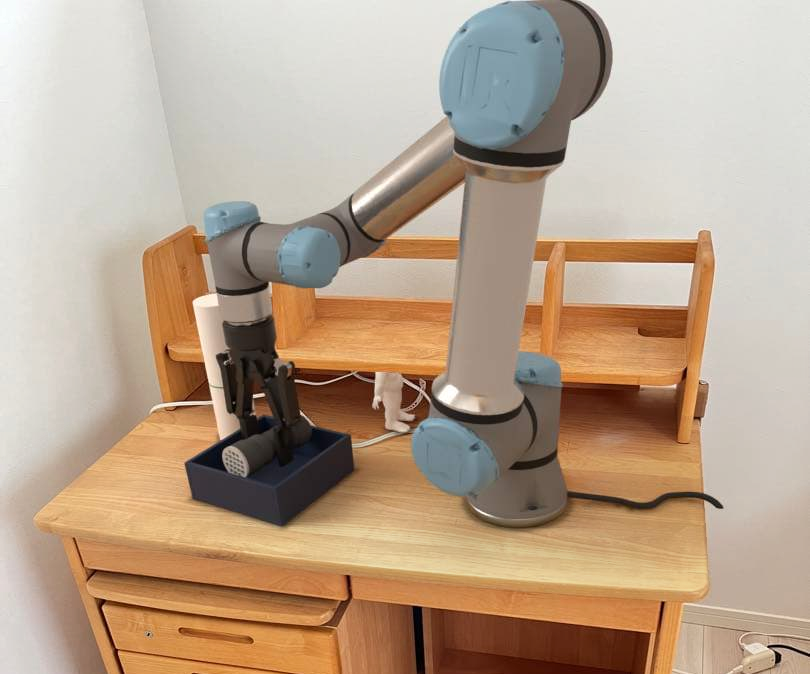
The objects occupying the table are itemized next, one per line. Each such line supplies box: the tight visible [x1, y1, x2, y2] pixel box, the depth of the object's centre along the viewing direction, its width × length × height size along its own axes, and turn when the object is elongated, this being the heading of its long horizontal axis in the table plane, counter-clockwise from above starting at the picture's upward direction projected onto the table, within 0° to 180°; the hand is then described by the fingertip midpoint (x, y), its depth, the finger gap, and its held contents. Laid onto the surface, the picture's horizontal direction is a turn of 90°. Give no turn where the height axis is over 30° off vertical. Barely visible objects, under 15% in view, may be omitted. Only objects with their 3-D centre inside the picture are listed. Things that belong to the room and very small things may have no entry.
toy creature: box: [371, 371, 416, 434], centre depth 147 cm, size 12×6×12 cm, turn 168°
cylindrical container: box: [192, 293, 257, 441], centre depth 143 cm, size 7×7×25 cm
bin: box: [183, 413, 355, 527], centre depth 132 cm, size 18×19×7 cm
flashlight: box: [222, 414, 312, 478], centre depth 131 cm, size 15×5×5 cm, turn 143°
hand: (270, 458), depth 132 cm, fingers closed on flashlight, 6 cm apart
